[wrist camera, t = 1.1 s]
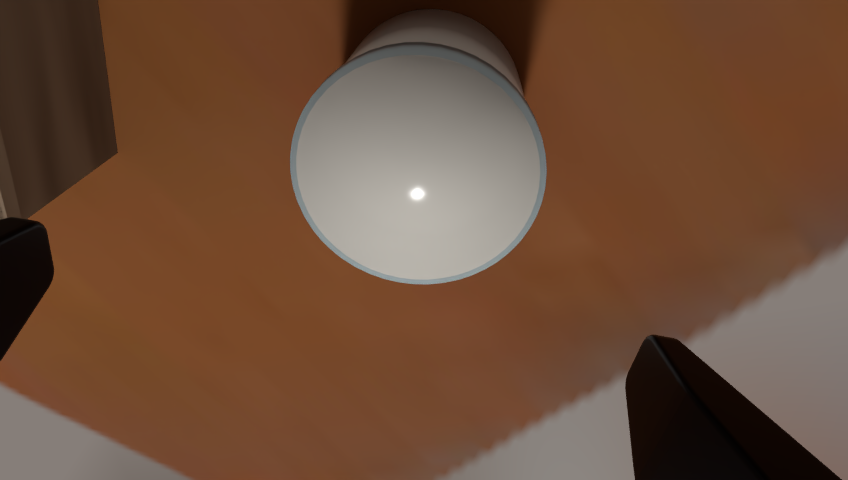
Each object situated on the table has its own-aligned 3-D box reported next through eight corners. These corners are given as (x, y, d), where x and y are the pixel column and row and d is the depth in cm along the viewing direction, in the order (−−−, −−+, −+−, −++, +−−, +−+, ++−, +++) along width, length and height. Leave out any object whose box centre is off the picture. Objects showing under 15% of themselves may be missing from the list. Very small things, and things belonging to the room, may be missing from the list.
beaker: (549, 24, 18) (580, 77, 13) (501, 202, 21) (511, 302, 16) (347, -15, 18) (296, 23, 13) (330, 171, 21) (284, 261, 16)
